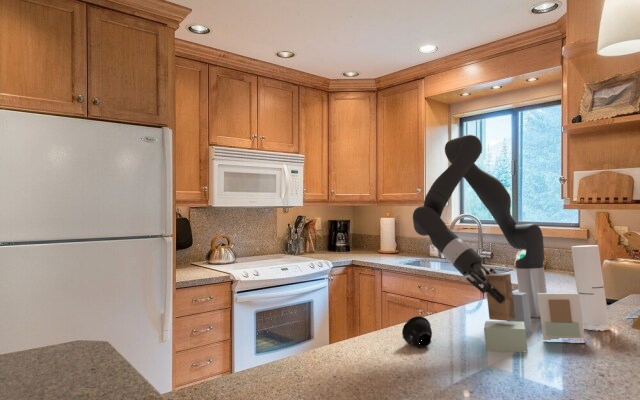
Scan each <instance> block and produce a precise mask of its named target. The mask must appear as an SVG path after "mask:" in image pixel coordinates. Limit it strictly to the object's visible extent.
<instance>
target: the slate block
mask: <svg viewBox="0 0 640 400" xmlns="http://www.w3.org/2000/svg"><path fill="white" fill-rule="evenodd" d="M512 294H513V295H514V297H513V303H514V312H515V318H513V319H511V320H509V321H517V322H524V325H525V332H526V337H528V336H529V335H531V334H533V328H532V327H533V326H532V319H531V318H532V317H530V308H529V300H528V293H519V291H518V292H517V291H516V292H515V291H514V292H513V291H512Z"/></svg>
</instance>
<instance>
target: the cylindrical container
mask: <svg viewBox="0 0 640 400" xmlns="http://www.w3.org/2000/svg"><path fill="white" fill-rule="evenodd" d="M570 248H571V256H572V262H573V263H572V264H573V270H574V278H575V279H574V281H575V286H576V287H575V288H576V293H579V297H580V305H581V312H582V320H583V323H586V324H592V325H603V324H608V323H609V313H608V304H607V299H606V291H605V283H604V277H603V269H602V261H601V254H600V249H599V245H598V244H597V245H596V244H595V245H594V244H593V245H591V244H589V245H587V244H586V245H576V246H575V245H572V246H570ZM609 324H610V323H609Z"/></svg>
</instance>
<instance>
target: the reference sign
mask: <svg viewBox="0 0 640 400" xmlns="http://www.w3.org/2000/svg"><path fill="white" fill-rule="evenodd" d="M538 300H539V308H540V317H539V318H540V325H541V332H542V341H543V340H551V339H559V338H585V339H586V337H585V330H584V328H583V320H582V312H581V305H580V297H579V293H578V292H557V293H556V292H547V293H538Z"/></svg>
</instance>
